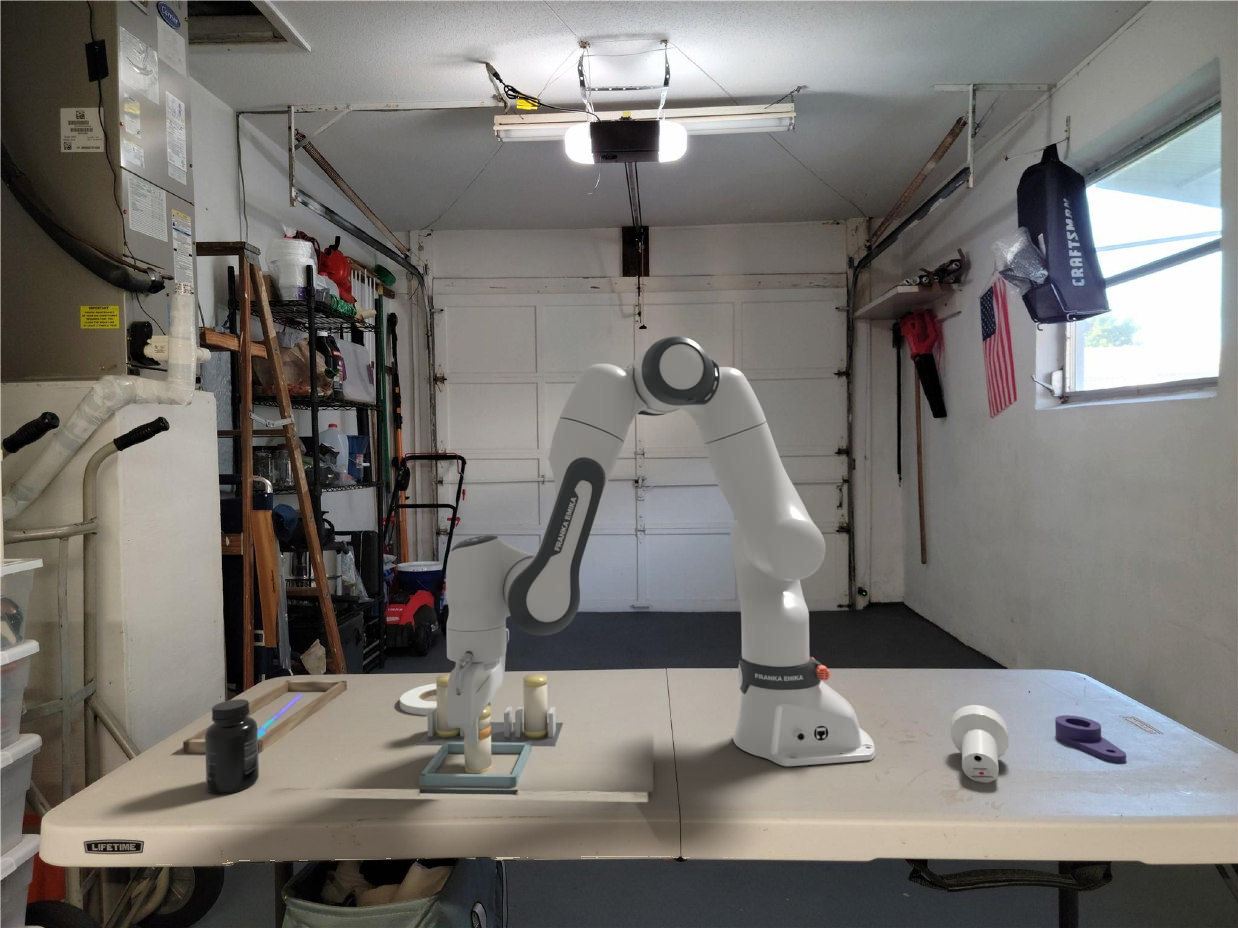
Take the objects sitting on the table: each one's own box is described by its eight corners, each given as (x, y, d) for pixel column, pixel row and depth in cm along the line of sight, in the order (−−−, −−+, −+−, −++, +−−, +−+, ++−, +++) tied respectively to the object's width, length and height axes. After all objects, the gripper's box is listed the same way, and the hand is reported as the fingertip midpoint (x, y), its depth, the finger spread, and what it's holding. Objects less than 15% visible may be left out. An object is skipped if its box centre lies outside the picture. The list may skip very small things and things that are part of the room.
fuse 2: (549, 728, 119) (548, 674, 119) (545, 738, 115) (544, 681, 115) (526, 728, 119) (525, 673, 119) (521, 737, 115) (521, 681, 115)
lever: (1046, 734, 117) (1046, 715, 117) (1082, 732, 117) (1081, 714, 117) (1101, 765, 105) (1100, 744, 105) (1140, 763, 105) (1139, 742, 105)
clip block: (563, 729, 122) (562, 699, 121) (554, 753, 112) (554, 721, 112) (435, 728, 123) (435, 699, 123) (416, 751, 113) (415, 720, 113)
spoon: (257, 747, 117) (257, 740, 117) (233, 747, 117) (233, 740, 117) (314, 697, 142) (314, 691, 142) (294, 697, 142) (294, 692, 142)
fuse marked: (494, 764, 106) (493, 703, 106) (488, 777, 102) (486, 714, 102) (468, 763, 106) (467, 703, 106) (461, 776, 102) (460, 714, 102)
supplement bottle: (247, 770, 107) (246, 693, 107) (266, 782, 103) (265, 702, 103) (198, 786, 102) (197, 705, 102) (216, 800, 97) (215, 715, 97)
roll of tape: (404, 698, 140) (404, 684, 140) (481, 692, 143) (481, 678, 143) (395, 726, 125) (394, 710, 125) (481, 719, 128) (480, 703, 128)
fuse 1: (463, 728, 119) (463, 673, 119) (457, 737, 115) (456, 681, 115) (441, 728, 120) (440, 673, 120) (433, 737, 116) (433, 681, 116)
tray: (531, 758, 110) (531, 742, 110) (516, 794, 98) (515, 776, 98) (445, 757, 110) (445, 741, 110) (419, 793, 98) (419, 775, 98)
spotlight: (1013, 749, 107) (1001, 701, 107) (1018, 795, 98) (1005, 743, 97) (956, 749, 111) (945, 703, 111) (956, 793, 101) (943, 743, 101)
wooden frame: (346, 689, 145) (346, 680, 145) (259, 753, 113) (259, 742, 113) (287, 688, 146) (286, 680, 146) (183, 752, 114) (183, 741, 114)
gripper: (479, 663, 94) (481, 764, 94) (511, 627, 114) (512, 710, 114) (434, 663, 94) (435, 764, 94) (473, 627, 114) (475, 710, 114)
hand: (478, 734), depth 104 cm, fingers open, 5 cm apart
